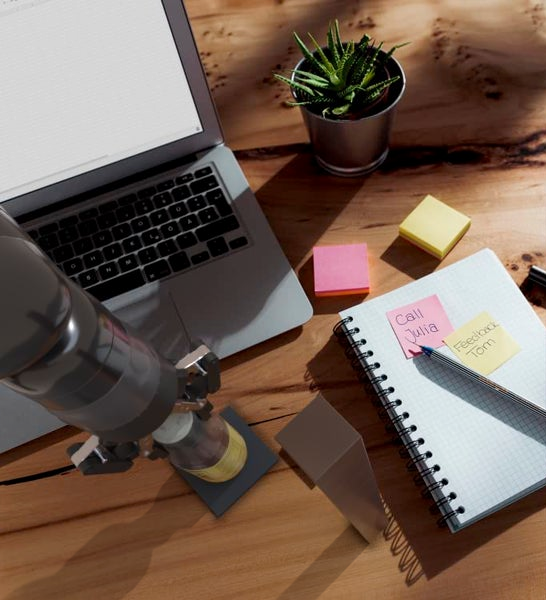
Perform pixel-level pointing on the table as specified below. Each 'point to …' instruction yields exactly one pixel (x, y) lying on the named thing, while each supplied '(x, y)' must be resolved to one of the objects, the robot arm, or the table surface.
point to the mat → (255, 467)
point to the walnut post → (336, 464)
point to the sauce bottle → (203, 445)
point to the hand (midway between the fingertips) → (182, 430)
